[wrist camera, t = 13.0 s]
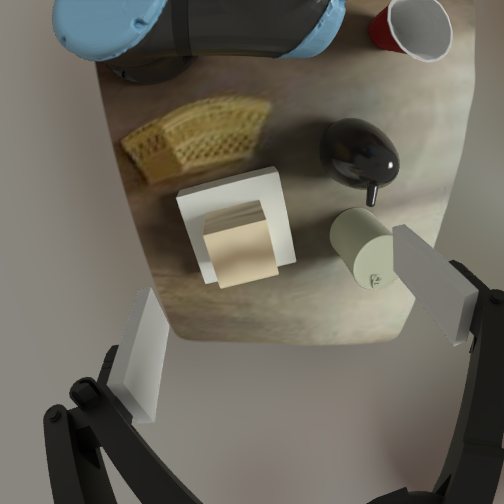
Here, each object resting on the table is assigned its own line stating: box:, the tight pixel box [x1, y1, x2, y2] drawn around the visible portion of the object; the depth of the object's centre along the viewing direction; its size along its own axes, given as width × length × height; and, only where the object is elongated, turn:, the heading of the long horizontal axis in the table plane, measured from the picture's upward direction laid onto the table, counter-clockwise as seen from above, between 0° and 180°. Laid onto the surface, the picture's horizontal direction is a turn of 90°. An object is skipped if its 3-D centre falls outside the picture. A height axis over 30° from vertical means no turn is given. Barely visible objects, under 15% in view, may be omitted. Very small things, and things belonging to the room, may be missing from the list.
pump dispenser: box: [320, 118, 400, 207], centre depth 41 cm, size 10×10×15 cm
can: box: [330, 208, 399, 290], centre depth 49 cm, size 9×9×12 cm
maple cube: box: [203, 200, 279, 288], centre depth 45 cm, size 8×8×8 cm
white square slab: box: [176, 166, 296, 284], centre depth 50 cm, size 15×15×4 cm
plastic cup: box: [369, 0, 453, 63], centre depth 34 cm, size 11×11×12 cm
